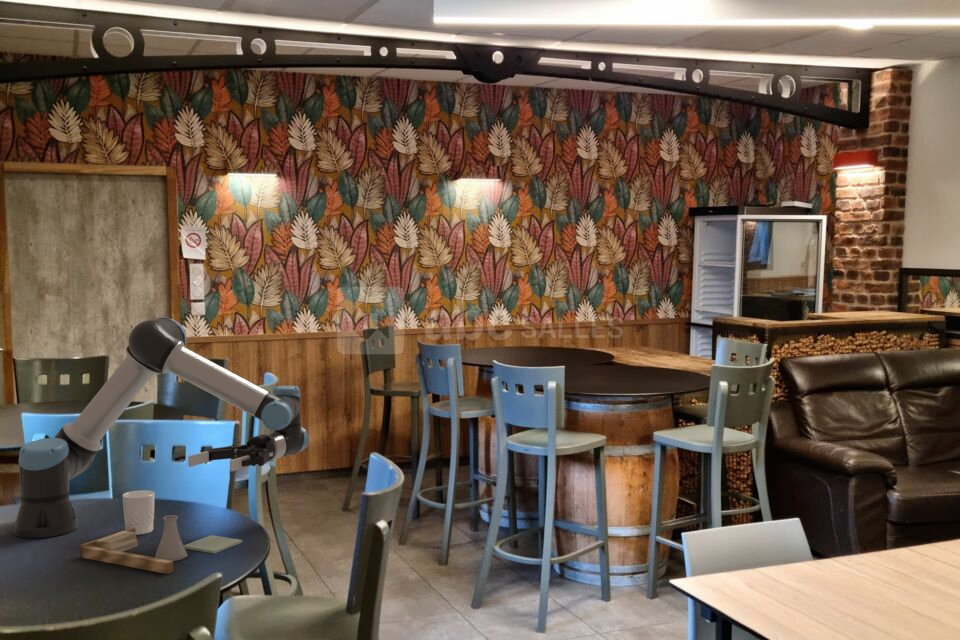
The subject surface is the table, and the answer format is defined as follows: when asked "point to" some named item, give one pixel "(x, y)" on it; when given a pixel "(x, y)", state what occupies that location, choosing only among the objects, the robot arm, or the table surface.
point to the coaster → (212, 544)
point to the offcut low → (127, 546)
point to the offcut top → (117, 540)
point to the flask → (171, 541)
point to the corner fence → (125, 557)
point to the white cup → (139, 511)
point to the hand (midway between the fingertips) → (209, 463)
